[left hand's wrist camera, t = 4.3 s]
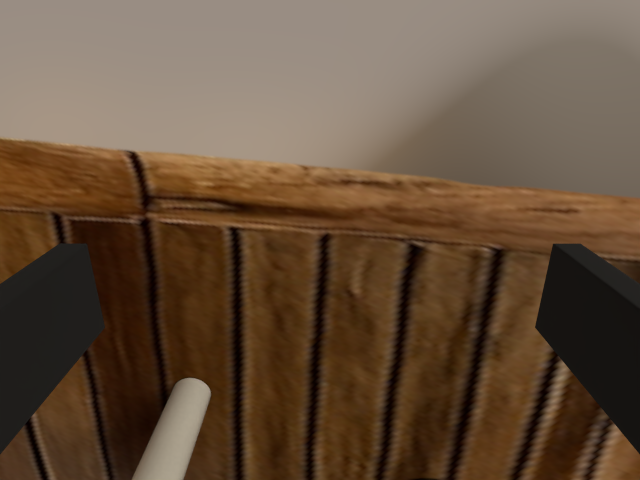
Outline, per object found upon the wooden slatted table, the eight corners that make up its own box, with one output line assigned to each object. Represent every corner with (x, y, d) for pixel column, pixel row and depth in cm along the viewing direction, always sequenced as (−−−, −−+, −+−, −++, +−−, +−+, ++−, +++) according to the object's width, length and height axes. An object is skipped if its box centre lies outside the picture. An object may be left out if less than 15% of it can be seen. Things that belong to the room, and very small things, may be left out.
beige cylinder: (208, 377, 48) (161, 509, 34) (213, 407, 50) (169, 545, 35) (170, 378, 48) (106, 510, 34) (176, 408, 50) (117, 546, 35)
